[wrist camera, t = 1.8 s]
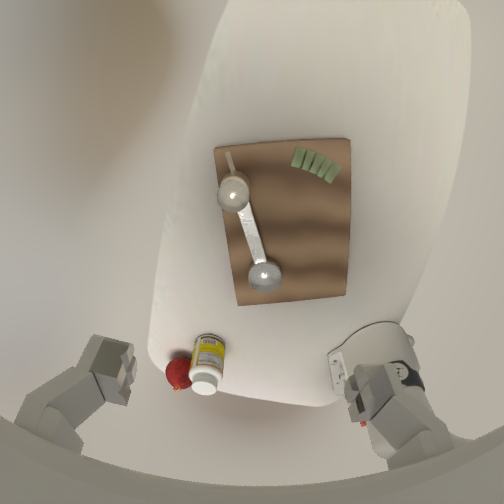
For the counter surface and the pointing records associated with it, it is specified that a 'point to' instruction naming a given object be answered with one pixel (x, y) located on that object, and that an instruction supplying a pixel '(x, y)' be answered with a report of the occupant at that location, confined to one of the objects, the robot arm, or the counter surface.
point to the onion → (179, 373)
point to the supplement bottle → (207, 364)
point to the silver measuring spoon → (249, 231)
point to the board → (292, 215)
